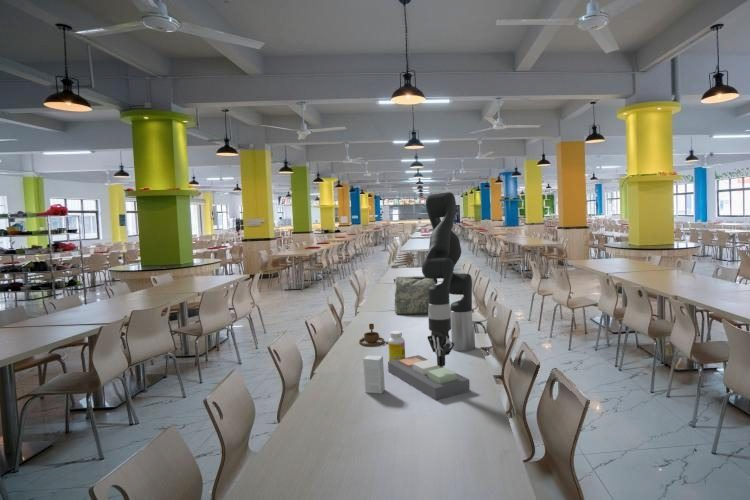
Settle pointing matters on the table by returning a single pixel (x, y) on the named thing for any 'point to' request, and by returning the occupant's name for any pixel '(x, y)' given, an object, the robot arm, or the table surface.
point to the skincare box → (374, 374)
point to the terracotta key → (409, 361)
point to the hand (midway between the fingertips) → (441, 365)
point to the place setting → (372, 338)
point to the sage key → (441, 375)
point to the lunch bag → (412, 294)
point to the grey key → (424, 367)
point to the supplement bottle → (396, 346)
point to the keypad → (428, 381)
